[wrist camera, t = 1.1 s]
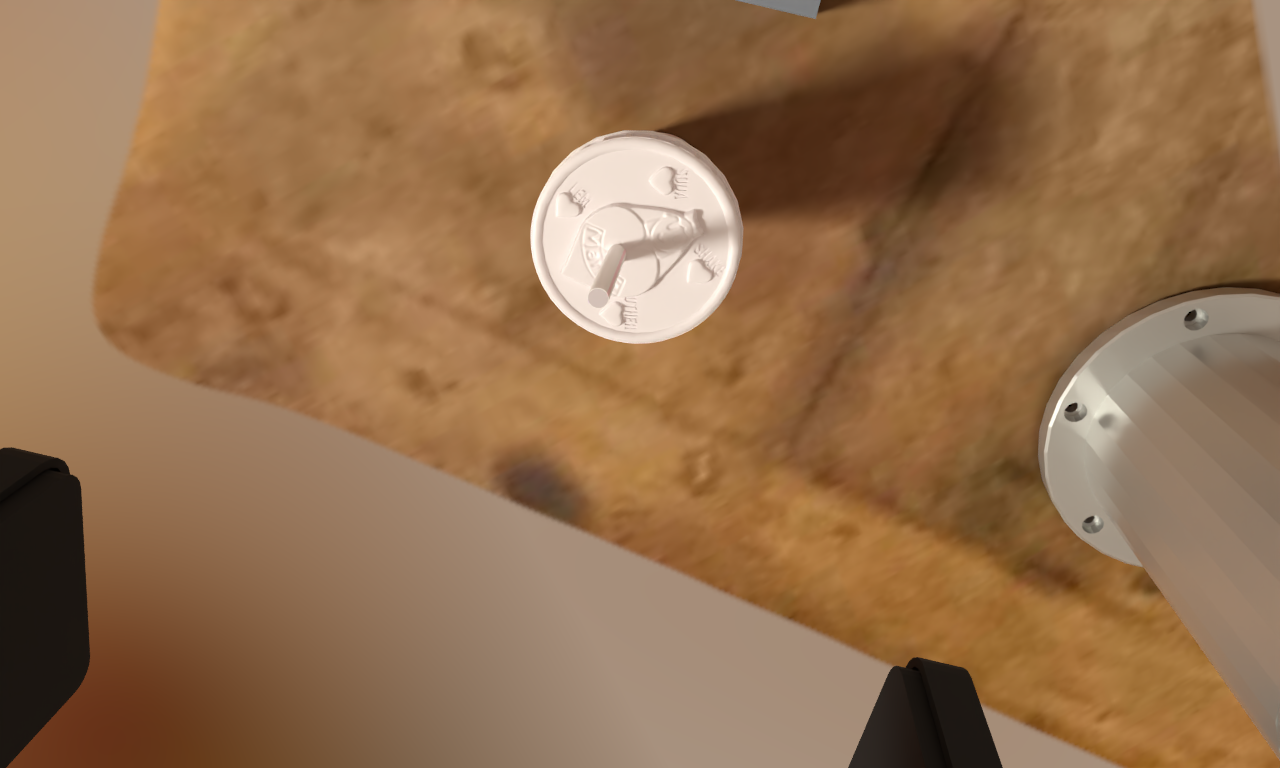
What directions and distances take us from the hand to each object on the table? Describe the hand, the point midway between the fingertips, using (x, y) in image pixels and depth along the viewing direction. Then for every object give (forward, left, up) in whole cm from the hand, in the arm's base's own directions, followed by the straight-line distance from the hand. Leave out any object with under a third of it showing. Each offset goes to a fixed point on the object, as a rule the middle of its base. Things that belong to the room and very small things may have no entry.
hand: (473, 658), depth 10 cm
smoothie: (0, 0, -28) cm, 28 cm away
